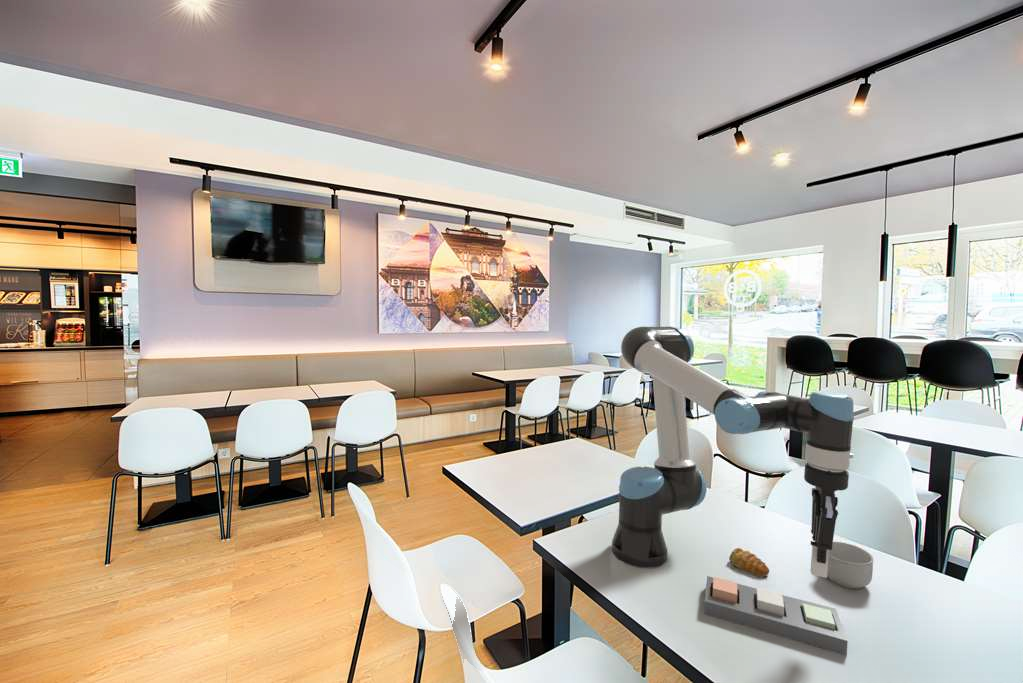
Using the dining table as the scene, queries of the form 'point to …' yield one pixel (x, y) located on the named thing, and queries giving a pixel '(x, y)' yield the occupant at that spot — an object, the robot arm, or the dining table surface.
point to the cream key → (770, 601)
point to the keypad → (776, 618)
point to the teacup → (849, 565)
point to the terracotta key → (725, 590)
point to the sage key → (818, 616)
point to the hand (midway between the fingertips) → (818, 574)
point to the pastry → (748, 562)
